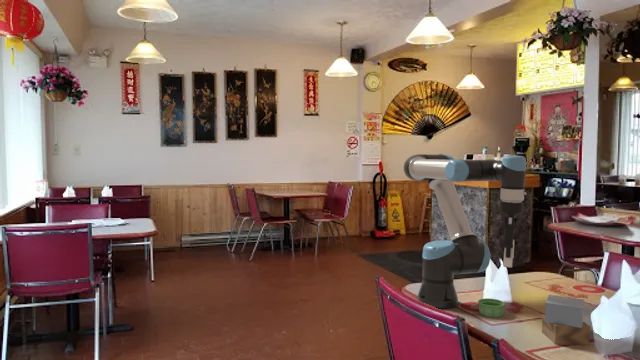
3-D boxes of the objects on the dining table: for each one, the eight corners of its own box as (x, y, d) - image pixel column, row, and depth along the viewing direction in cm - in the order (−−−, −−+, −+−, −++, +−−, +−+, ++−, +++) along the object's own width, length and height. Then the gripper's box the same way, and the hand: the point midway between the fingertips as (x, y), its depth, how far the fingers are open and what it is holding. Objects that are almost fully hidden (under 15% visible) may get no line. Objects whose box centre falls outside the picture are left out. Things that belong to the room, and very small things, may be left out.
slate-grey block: (544, 321, 148) (545, 302, 148) (548, 312, 157) (548, 294, 157) (582, 328, 143) (582, 308, 143) (583, 318, 152) (584, 299, 152)
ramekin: (502, 320, 167) (502, 307, 167) (475, 315, 172) (475, 303, 172) (506, 312, 175) (506, 300, 175) (480, 308, 180) (480, 297, 179)
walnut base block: (555, 345, 146) (555, 325, 145) (541, 333, 156) (542, 314, 155) (589, 346, 145) (590, 326, 145) (574, 333, 155) (574, 315, 155)
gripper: (523, 206, 152) (519, 272, 154) (524, 197, 175) (521, 255, 177) (497, 204, 155) (494, 269, 157) (502, 196, 178) (499, 252, 180)
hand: (508, 262), depth 167 cm, fingers open, 13 cm apart
